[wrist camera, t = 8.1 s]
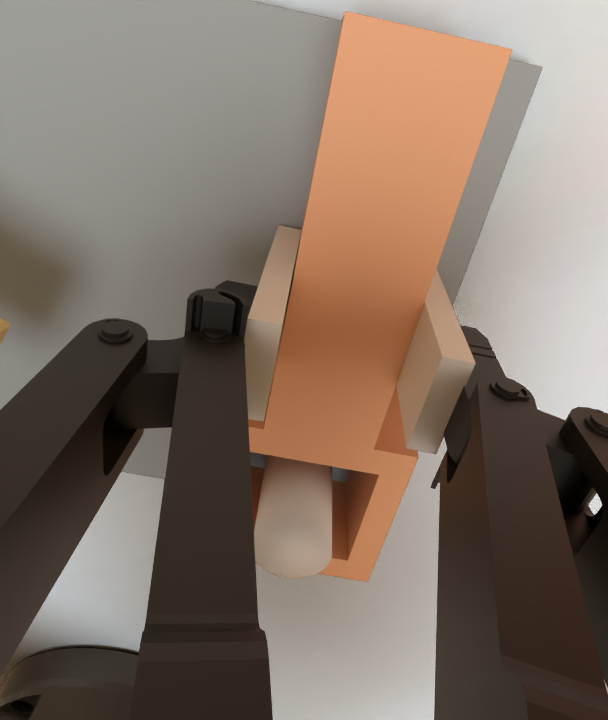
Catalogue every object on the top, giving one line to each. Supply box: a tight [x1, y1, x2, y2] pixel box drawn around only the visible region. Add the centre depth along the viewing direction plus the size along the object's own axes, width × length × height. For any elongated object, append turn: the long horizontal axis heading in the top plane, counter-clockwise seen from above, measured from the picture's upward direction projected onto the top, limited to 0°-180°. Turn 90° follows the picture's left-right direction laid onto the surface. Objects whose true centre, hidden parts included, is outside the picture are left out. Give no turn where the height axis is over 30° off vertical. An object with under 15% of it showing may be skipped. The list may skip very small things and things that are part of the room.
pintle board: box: [0, 0, 543, 578], centre depth 16 cm, size 18×22×7 cm
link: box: [248, 11, 512, 582], centre depth 17 cm, size 17×6×4 cm, turn 169°
